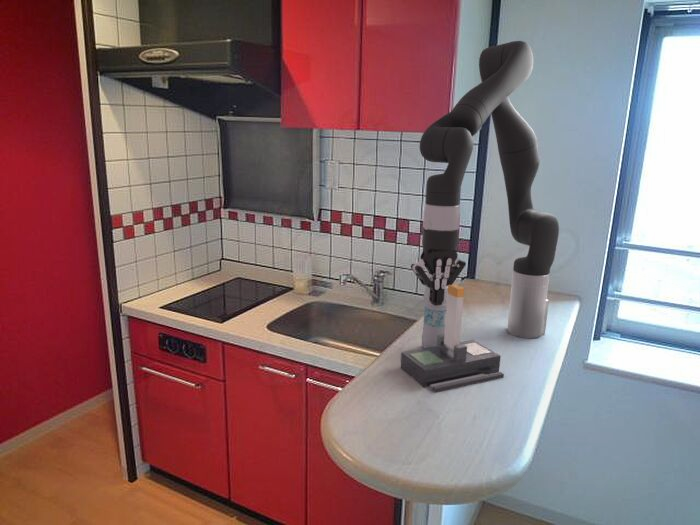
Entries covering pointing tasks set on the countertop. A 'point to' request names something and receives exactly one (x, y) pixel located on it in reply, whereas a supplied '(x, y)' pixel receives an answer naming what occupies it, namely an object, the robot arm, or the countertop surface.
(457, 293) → the lever
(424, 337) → the bottle
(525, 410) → the countertop surface
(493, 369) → the switch box
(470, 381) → the dark grey bar
